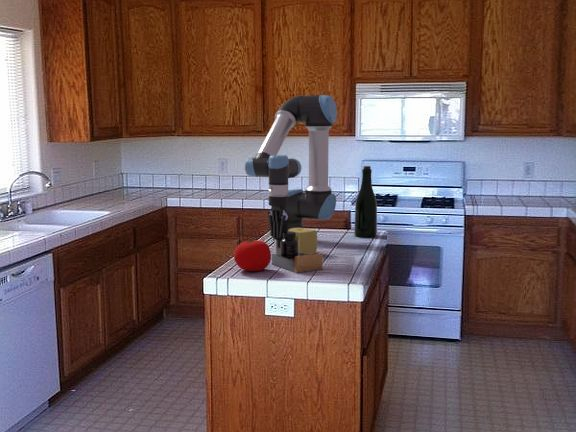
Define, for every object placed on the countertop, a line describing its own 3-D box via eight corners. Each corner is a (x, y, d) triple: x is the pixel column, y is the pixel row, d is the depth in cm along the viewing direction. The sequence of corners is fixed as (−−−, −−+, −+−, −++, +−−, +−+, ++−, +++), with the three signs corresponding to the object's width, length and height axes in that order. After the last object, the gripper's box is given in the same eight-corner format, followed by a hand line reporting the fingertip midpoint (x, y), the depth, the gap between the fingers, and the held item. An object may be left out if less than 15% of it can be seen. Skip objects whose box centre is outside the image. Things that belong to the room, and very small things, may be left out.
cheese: (281, 253, 281) (281, 229, 280) (299, 250, 289) (299, 226, 287) (300, 257, 274) (300, 232, 273) (318, 253, 282) (318, 229, 280)
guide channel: (271, 264, 260) (271, 248, 260) (297, 261, 267) (297, 245, 266) (296, 273, 246) (296, 256, 245) (322, 269, 252) (322, 253, 251)
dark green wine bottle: (379, 237, 318) (381, 166, 313) (358, 238, 316) (360, 167, 311) (372, 233, 328) (373, 165, 323) (351, 234, 326) (352, 165, 321)
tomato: (274, 273, 246) (274, 242, 244) (236, 275, 243) (235, 243, 241) (267, 266, 258) (267, 236, 256) (231, 267, 255) (231, 237, 253)
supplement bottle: (277, 262, 262) (277, 231, 261) (293, 260, 265) (293, 230, 263) (284, 265, 256) (284, 234, 254) (301, 264, 259) (301, 233, 257)
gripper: (261, 194, 267) (261, 253, 270) (278, 197, 256) (278, 259, 259) (278, 193, 271) (277, 251, 274) (295, 196, 260) (295, 257, 263)
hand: (278, 255), depth 267 cm, fingers closed
